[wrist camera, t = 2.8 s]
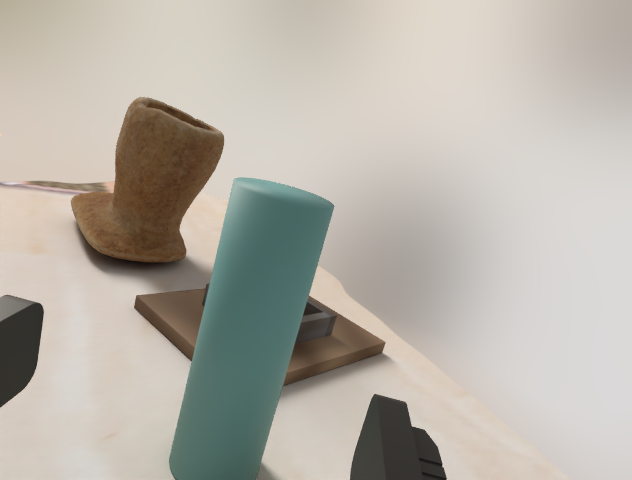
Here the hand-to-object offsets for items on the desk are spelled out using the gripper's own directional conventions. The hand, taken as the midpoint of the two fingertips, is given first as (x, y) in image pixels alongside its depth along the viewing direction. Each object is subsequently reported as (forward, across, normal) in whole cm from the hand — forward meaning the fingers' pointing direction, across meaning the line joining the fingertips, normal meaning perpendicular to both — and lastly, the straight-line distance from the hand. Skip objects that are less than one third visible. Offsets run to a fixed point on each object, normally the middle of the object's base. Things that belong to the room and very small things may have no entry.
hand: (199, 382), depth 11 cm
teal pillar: (+10, 0, +11) cm, 15 cm away
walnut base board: (+26, 0, +10) cm, 28 cm away
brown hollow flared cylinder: (+38, +17, +10) cm, 43 cm away
